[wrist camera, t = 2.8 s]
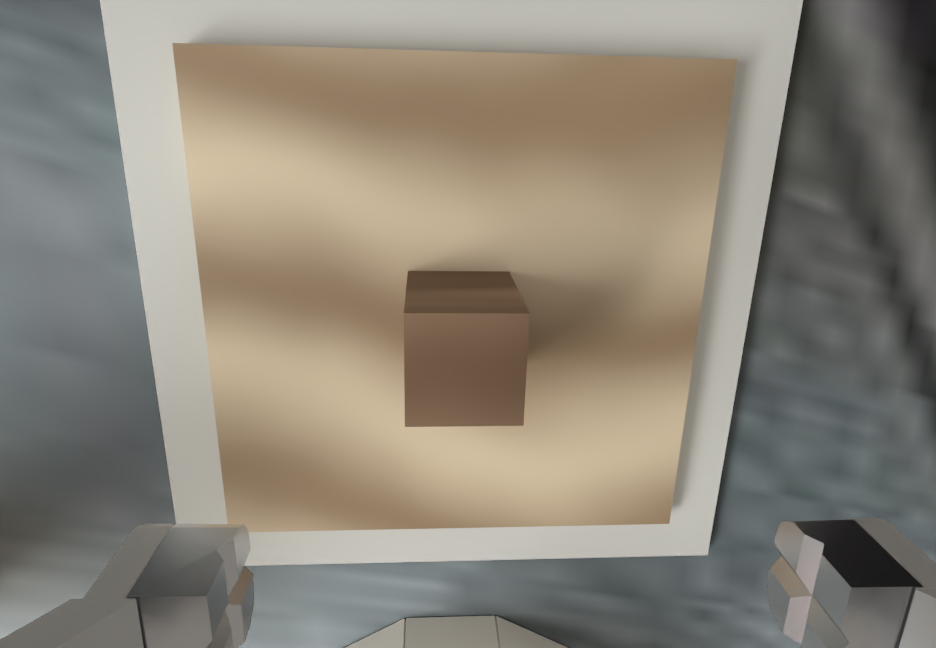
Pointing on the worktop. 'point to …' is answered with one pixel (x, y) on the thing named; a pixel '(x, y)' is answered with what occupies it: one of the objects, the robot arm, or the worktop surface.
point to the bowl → (455, 634)
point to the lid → (449, 279)
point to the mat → (447, 29)
